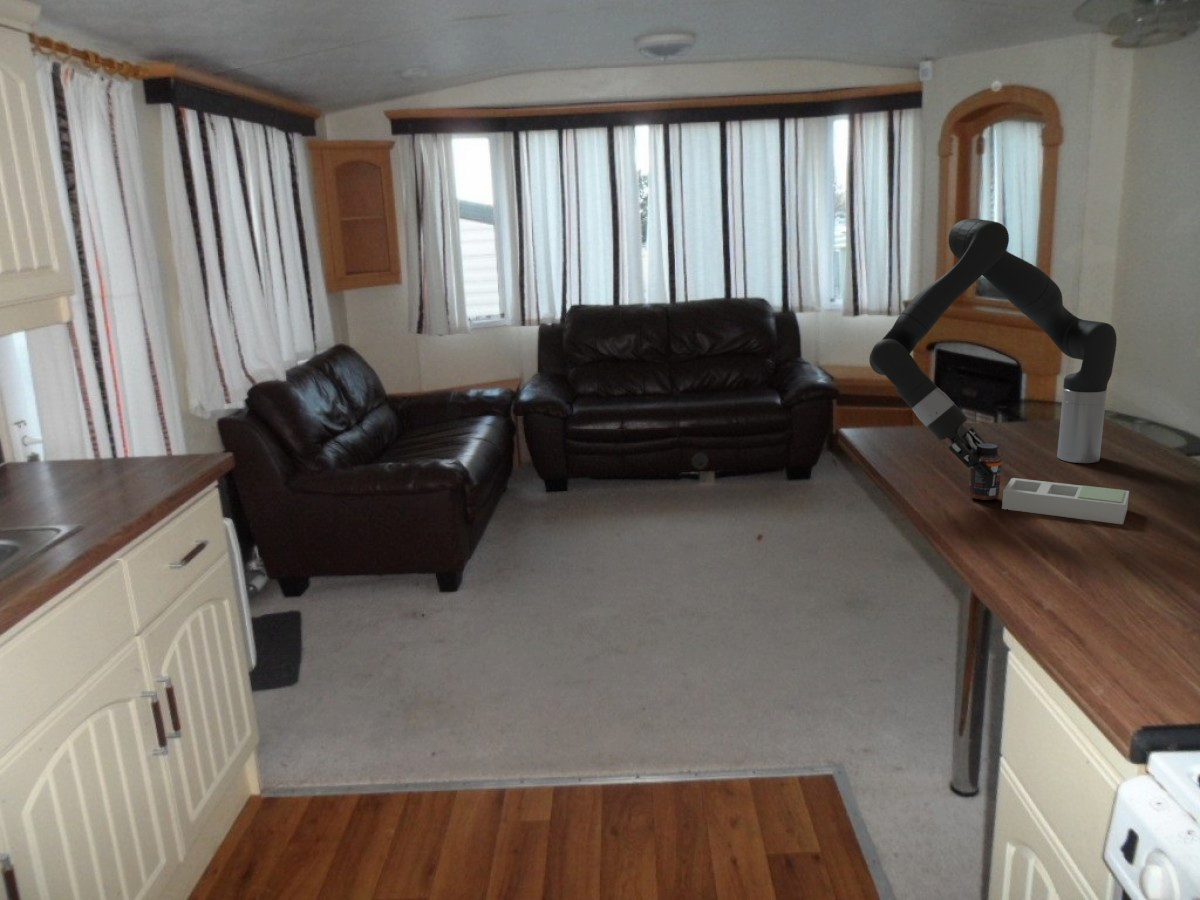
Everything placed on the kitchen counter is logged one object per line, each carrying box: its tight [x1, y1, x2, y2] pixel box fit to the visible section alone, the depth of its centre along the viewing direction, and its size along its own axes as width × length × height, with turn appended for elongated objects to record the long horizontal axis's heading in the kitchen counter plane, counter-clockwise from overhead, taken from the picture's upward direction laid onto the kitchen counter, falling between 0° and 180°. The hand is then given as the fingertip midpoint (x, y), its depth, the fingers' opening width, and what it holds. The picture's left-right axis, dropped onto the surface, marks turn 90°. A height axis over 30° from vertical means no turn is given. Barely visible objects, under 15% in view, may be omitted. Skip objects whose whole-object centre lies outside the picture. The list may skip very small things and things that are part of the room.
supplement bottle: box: [968, 442, 1002, 501], centre depth 199 cm, size 6×6×11 cm
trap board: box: [1001, 477, 1130, 525], centre depth 192 cm, size 10×22×4 cm, turn 58°
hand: (994, 473), depth 199 cm, fingers closed on supplement bottle, 6 cm apart
